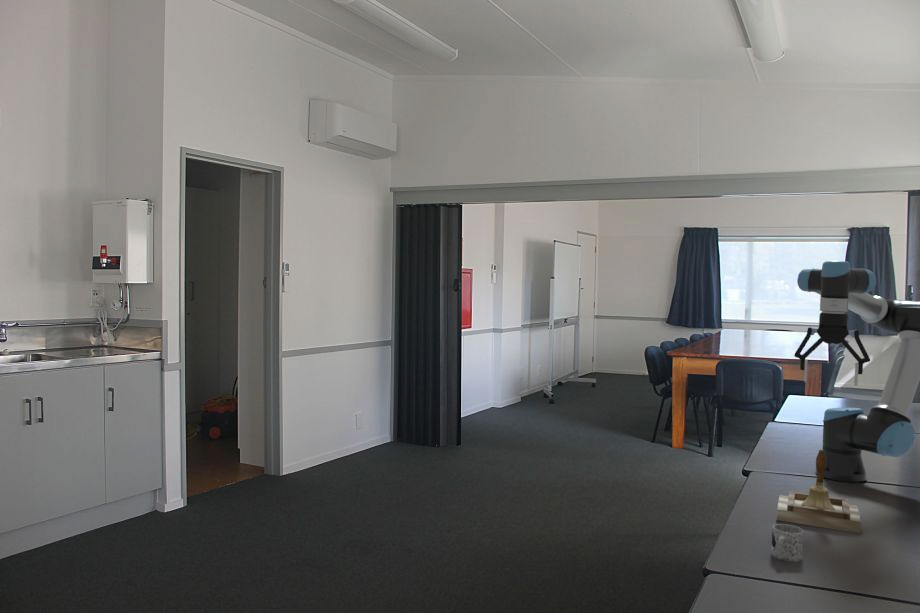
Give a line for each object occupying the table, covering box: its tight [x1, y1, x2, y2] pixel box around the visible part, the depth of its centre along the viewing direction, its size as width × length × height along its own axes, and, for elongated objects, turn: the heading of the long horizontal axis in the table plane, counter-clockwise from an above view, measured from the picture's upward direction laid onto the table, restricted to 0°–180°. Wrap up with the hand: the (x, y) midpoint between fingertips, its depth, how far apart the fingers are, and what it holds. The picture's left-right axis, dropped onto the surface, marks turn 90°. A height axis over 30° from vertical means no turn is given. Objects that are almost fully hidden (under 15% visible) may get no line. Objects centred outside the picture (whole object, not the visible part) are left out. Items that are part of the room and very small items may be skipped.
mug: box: [770, 523, 804, 563], centre depth 172 cm, size 10×7×7 cm, turn 141°
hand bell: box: [801, 449, 835, 511], centre depth 201 cm, size 8×8×16 cm
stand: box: [776, 490, 862, 534], centre depth 202 cm, size 15×20×4 cm
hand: (830, 383), depth 220 cm, fingers open, 13 cm apart
